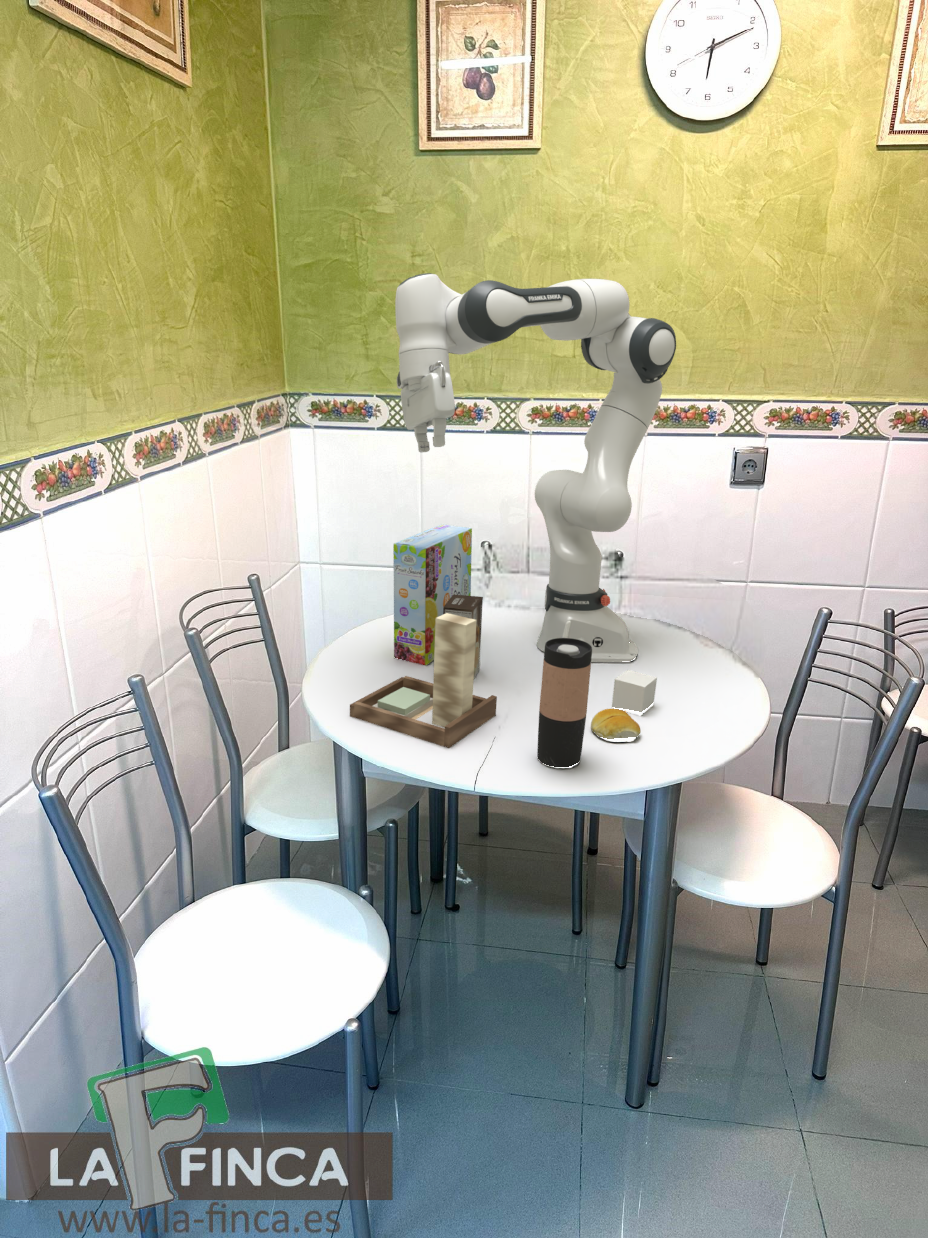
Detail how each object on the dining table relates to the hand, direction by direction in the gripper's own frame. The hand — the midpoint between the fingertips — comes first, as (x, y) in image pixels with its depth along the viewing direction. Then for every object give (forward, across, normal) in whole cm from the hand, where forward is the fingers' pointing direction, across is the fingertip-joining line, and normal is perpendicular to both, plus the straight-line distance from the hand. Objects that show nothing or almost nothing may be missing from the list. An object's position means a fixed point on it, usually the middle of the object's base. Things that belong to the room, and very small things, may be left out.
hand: (431, 449), depth 152 cm
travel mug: (+54, -23, -10) cm, 59 cm away
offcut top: (+45, 0, +9) cm, 46 cm away
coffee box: (+45, +14, -6) cm, 47 cm away
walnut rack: (+48, -3, +7) cm, 48 cm away
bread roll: (+53, -16, -25) cm, 61 cm away
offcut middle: (+46, +1, +9) cm, 47 cm away
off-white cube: (+51, -7, -33) cm, 61 cm away
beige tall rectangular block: (+49, -7, +3) cm, 50 cm away
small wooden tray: (+48, +1, +10) cm, 49 cm away
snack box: (+41, +30, -6) cm, 51 cm away
